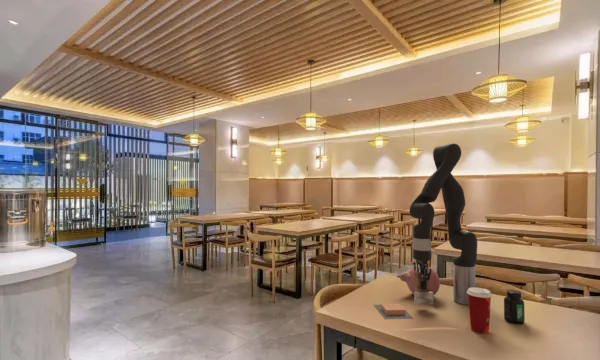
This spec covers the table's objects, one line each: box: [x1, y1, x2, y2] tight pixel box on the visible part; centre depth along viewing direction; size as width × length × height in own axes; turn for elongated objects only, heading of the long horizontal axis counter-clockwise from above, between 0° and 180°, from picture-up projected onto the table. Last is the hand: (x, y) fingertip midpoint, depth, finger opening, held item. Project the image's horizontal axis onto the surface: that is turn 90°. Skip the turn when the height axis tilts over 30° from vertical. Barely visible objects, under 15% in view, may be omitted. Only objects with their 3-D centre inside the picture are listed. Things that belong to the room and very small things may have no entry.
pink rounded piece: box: [396, 266, 441, 297], centre depth 157 cm, size 15×20×15 cm
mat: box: [373, 304, 415, 320], centre depth 136 cm, size 12×16×1 cm
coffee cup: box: [467, 287, 493, 335], centre depth 120 cm, size 8×8×15 cm
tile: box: [380, 303, 406, 315], centre depth 135 cm, size 8×2×7 cm
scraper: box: [413, 271, 434, 305], centre depth 138 cm, size 8×4×13 cm, turn 93°
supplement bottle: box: [503, 289, 526, 326], centre depth 128 cm, size 7×7×12 cm
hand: (421, 287), depth 139 cm, fingers closed on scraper, 3 cm apart
